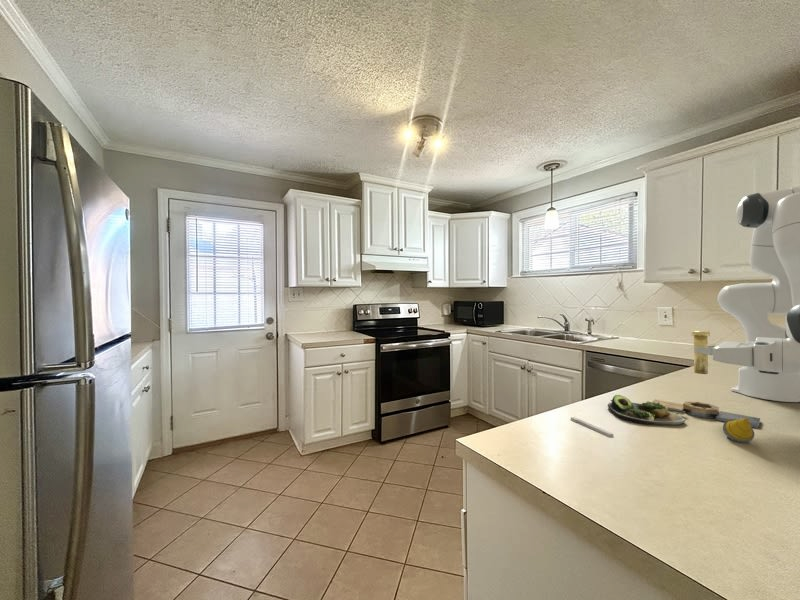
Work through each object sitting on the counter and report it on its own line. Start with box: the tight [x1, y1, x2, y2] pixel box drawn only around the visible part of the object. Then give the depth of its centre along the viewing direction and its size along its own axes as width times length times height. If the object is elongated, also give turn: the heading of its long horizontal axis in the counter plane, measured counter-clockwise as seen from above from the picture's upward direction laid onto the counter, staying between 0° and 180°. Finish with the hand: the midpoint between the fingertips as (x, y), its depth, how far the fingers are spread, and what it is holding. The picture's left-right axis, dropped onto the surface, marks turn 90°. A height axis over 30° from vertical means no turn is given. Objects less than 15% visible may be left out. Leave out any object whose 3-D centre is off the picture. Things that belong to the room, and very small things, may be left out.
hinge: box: [651, 398, 761, 429], centre depth 98 cm, size 7×23×2 cm, turn 40°
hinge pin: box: [690, 330, 711, 375], centre depth 98 cm, size 4×4×12 cm
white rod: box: [570, 416, 614, 438], centre depth 89 cm, size 12×1×1 cm, turn 17°
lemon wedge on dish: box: [722, 418, 755, 444], centre depth 79 cm, size 5×5×10 cm
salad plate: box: [607, 394, 687, 426], centre depth 98 cm, size 19×18×5 cm
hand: (696, 348), depth 99 cm, fingers closed on hinge pin, 3 cm apart
